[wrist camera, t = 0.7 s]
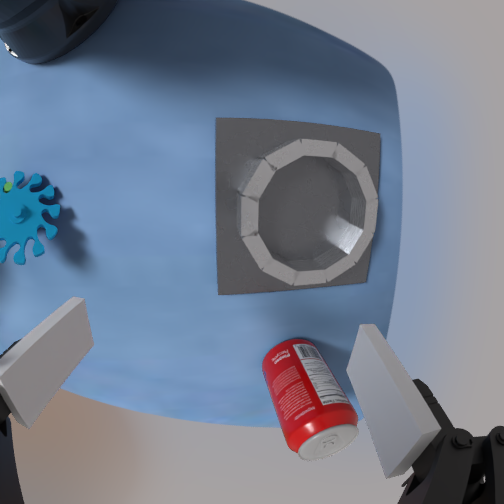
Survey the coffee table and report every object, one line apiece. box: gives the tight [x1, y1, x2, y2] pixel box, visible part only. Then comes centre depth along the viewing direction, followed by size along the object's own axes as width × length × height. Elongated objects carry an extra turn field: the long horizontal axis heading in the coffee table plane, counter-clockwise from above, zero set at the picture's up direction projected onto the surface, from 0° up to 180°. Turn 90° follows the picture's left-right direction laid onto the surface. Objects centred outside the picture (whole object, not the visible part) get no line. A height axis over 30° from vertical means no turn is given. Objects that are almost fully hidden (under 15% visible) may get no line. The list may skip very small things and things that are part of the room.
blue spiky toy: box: [0, 171, 60, 265], centre depth 21 cm, size 11×6×10 cm
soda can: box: [262, 339, 359, 461], centre depth 29 cm, size 8×8×15 cm
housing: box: [215, 118, 380, 295], centre depth 27 cm, size 18×18×4 cm
